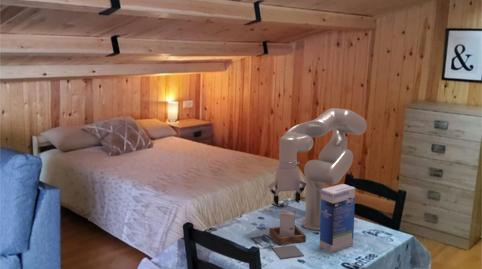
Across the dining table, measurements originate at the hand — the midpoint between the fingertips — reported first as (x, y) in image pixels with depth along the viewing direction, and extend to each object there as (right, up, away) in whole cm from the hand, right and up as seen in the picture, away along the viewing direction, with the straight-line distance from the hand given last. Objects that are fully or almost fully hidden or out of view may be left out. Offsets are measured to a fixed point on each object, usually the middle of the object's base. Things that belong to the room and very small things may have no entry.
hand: (286, 202), depth 211 cm
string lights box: (+21, -18, -5) cm, 28 cm away
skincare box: (+1, -16, +4) cm, 17 cm away
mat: (-1, -19, -11) cm, 22 cm away
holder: (+1, -16, +4) cm, 17 cm away
